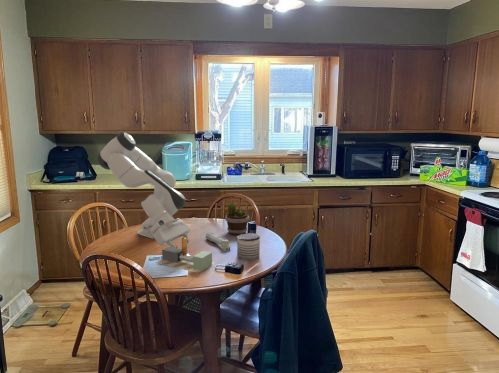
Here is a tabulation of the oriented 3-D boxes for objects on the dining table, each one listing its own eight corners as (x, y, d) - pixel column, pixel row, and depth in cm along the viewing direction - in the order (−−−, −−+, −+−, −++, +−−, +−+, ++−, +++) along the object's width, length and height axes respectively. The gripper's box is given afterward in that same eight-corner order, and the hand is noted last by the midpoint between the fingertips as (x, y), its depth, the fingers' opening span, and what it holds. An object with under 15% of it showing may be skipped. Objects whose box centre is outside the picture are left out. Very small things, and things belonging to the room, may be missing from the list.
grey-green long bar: (212, 231, 220) (232, 238, 198) (213, 243, 220) (232, 251, 199) (204, 233, 217) (223, 240, 196) (205, 244, 218) (223, 252, 196)
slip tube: (166, 257, 185) (165, 235, 183) (170, 255, 187) (169, 234, 185) (193, 263, 178) (192, 241, 176) (196, 261, 180) (196, 239, 178)
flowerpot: (248, 228, 239) (249, 197, 235) (249, 236, 224) (249, 203, 220) (225, 228, 238) (225, 197, 234) (224, 236, 223) (224, 203, 219)
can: (242, 263, 183) (242, 240, 181) (233, 255, 194) (233, 233, 191) (263, 260, 188) (263, 237, 186) (254, 252, 198) (254, 230, 196)
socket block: (193, 268, 175) (193, 256, 174) (203, 262, 182) (203, 250, 181) (202, 270, 172) (202, 258, 171) (212, 264, 179) (211, 252, 178)
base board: (155, 264, 181) (155, 262, 181) (174, 254, 194) (174, 253, 193) (198, 275, 170) (198, 272, 170) (215, 264, 182) (215, 262, 182)
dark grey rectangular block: (162, 259, 185) (162, 249, 184) (169, 256, 189) (168, 246, 188) (177, 262, 181) (177, 253, 180) (183, 259, 185) (183, 249, 184)
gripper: (175, 221, 193) (192, 242, 190) (147, 232, 175) (164, 256, 173) (182, 213, 190) (199, 235, 187) (154, 224, 172) (172, 248, 170)
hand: (182, 245), depth 180 cm, fingers open, 8 cm apart
